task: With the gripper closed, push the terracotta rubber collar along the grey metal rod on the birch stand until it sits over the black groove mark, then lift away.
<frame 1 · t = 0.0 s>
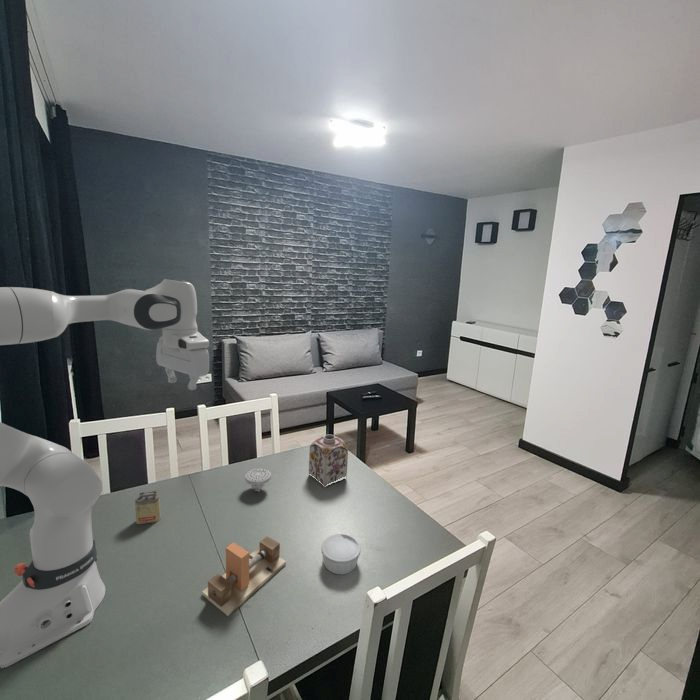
hand: (182, 385, 103), 48 cm above the table, tool pointing down, fingers open, 8 cm apart
rod stand: (246, 578, 97), on the table
showerhead: (257, 490, 137), on the table
ramekin: (340, 563, 105), on the table
lighter: (148, 520, 117), on the table
decorative jar: (327, 477, 149), on the table
collar: (237, 566, 94), point 6 cm above the table, slide at 0.0 cm
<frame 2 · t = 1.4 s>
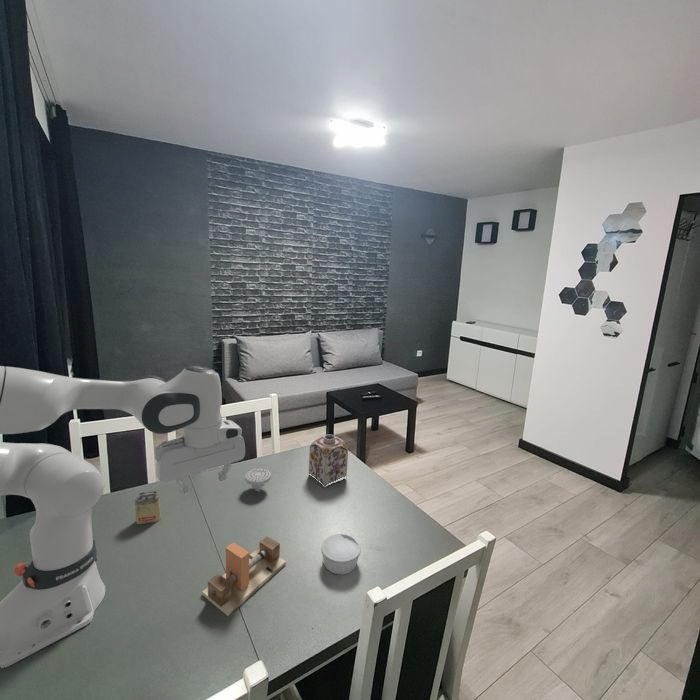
hand: (203, 485, 89), 29 cm above the table, tool pointing down, fingers open, 8 cm apart
nothing on the table moved.
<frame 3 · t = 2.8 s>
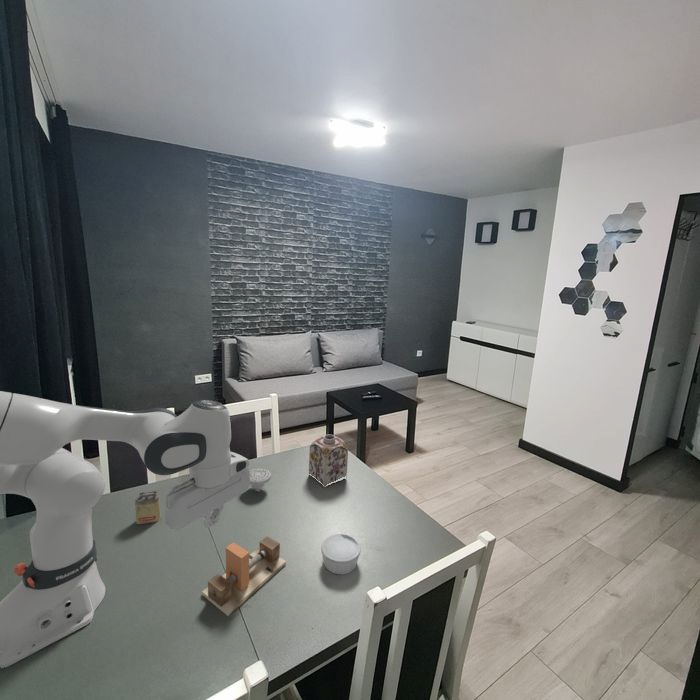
hand: (211, 524, 84), 23 cm above the table, tool pointing down, fingers closed
nothing on the table moved.
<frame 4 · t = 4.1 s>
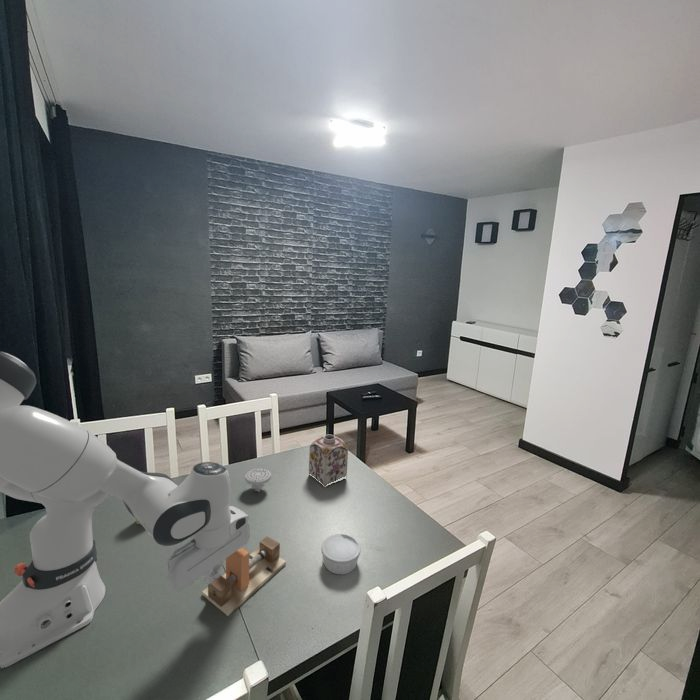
hand: (212, 579, 87), 8 cm above the table, tool pointing down, fingers closed
nothing on the table moved.
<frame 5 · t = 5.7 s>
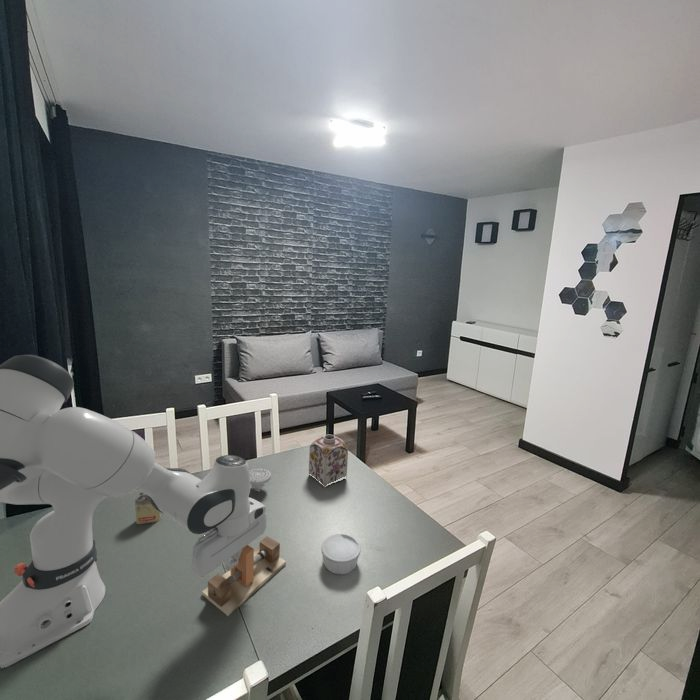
hand: (231, 566, 91), 8 cm above the table, tool pointing down, fingers closed
collar: (242, 562, 95), point 6 cm above the table, slide at 1.5 cm, touching gripper
everything else where it was.
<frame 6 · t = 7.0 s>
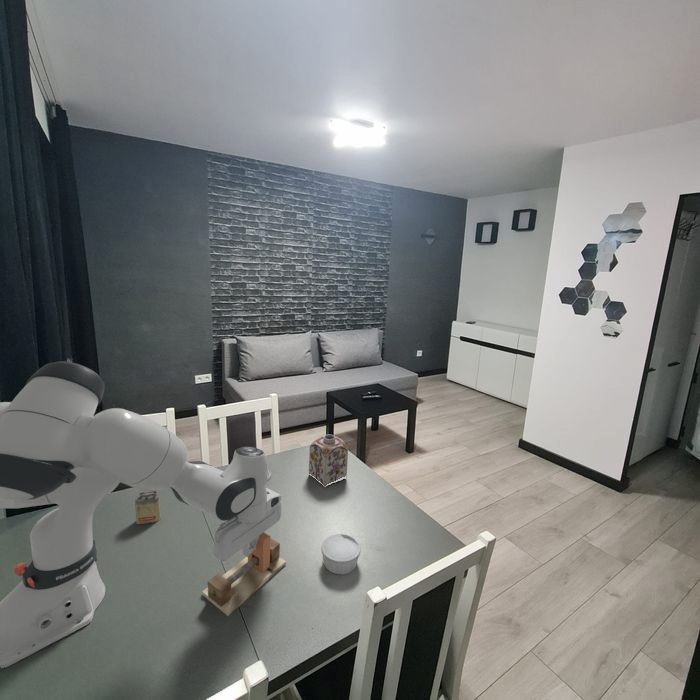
hand: (249, 552, 96), 8 cm above the table, tool pointing down, fingers closed
collar: (258, 549, 100), point 6 cm above the table, slide at 7.4 cm, touching gripper
everything else where it was.
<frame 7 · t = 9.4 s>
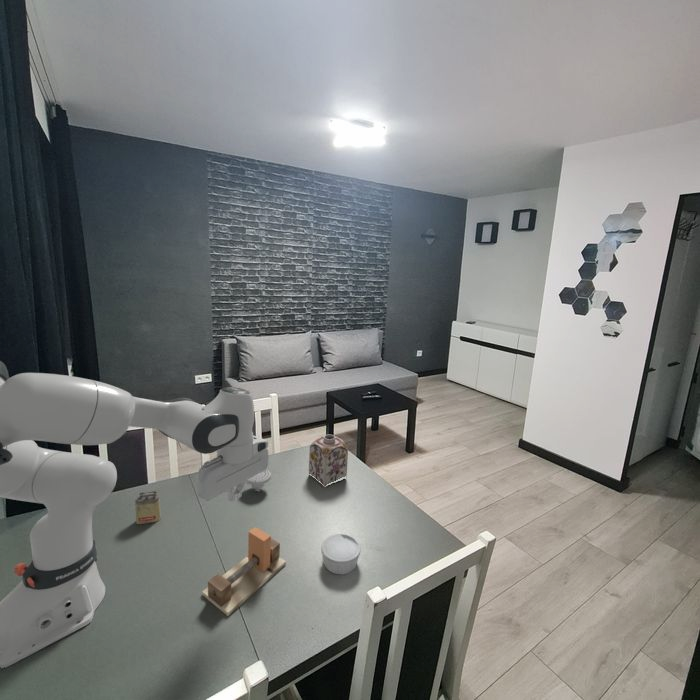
hand: (234, 498, 94), 23 cm above the table, tool pointing down, fingers closed
collar: (259, 548, 100), point 6 cm above the table, slide at 7.6 cm
everything else where it was.
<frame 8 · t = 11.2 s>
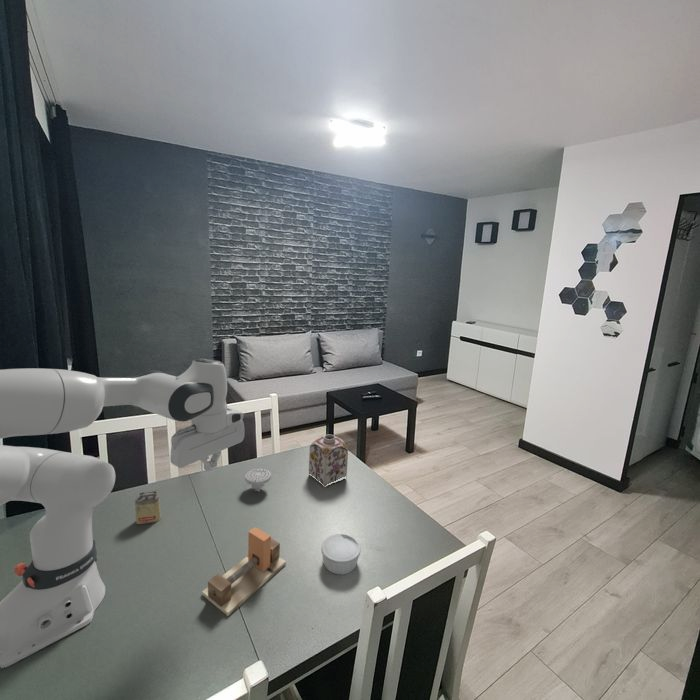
hand: (210, 468, 96), 29 cm above the table, tool pointing down, fingers closed
nothing on the table moved.
at the end: collar slide at 7.6 cm; the gripper is holding nothing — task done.
